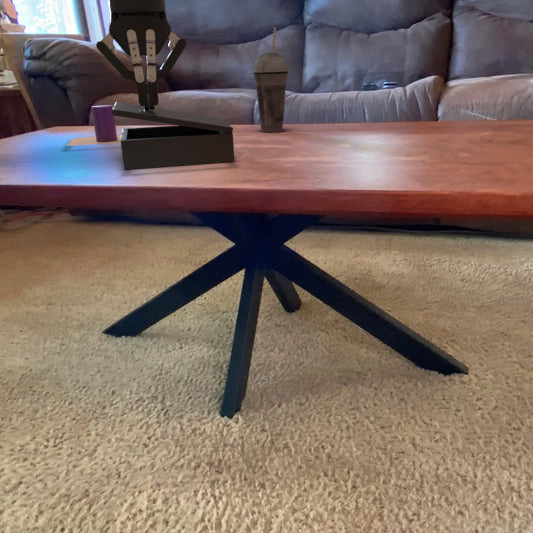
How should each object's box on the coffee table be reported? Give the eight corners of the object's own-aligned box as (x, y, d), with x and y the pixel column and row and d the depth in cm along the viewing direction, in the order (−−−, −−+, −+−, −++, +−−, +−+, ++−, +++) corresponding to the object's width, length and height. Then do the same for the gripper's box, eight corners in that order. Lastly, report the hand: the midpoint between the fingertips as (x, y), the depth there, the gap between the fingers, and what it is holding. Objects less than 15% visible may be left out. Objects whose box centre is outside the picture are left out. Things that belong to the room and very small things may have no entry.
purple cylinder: (95, 142, 98) (90, 107, 95) (97, 139, 101) (92, 105, 99) (117, 141, 99) (112, 106, 96) (118, 138, 102) (113, 104, 100)
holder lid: (112, 115, 68) (112, 109, 68) (115, 106, 80) (115, 101, 80) (232, 133, 73) (233, 127, 72) (218, 122, 85) (219, 117, 85)
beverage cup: (250, 130, 111) (246, 28, 103) (281, 127, 113) (279, 28, 105) (261, 134, 104) (258, 26, 97) (294, 131, 107) (293, 26, 99)
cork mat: (64, 151, 92) (64, 148, 92) (73, 139, 105) (72, 137, 105) (143, 145, 95) (143, 143, 95) (142, 135, 108) (142, 133, 108)
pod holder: (125, 175, 71) (120, 140, 70) (126, 158, 84) (122, 128, 82) (234, 167, 75) (233, 133, 73) (220, 151, 87) (219, 122, 85)
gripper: (181, -21, 73) (191, 105, 80) (85, -21, 71) (104, 109, 77) (185, -29, 67) (196, 109, 73) (80, -29, 64) (101, 114, 71)
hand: (149, 109), depth 75 cm, fingers closed
